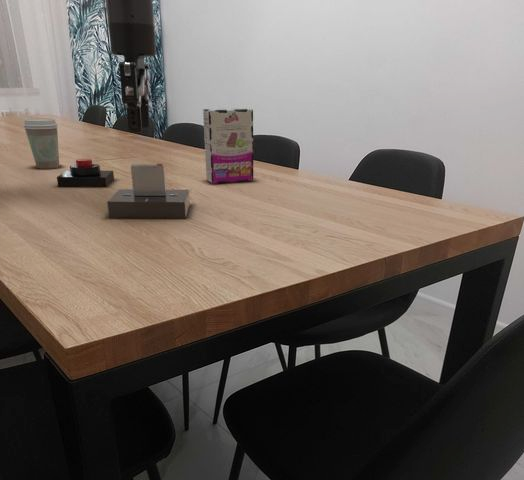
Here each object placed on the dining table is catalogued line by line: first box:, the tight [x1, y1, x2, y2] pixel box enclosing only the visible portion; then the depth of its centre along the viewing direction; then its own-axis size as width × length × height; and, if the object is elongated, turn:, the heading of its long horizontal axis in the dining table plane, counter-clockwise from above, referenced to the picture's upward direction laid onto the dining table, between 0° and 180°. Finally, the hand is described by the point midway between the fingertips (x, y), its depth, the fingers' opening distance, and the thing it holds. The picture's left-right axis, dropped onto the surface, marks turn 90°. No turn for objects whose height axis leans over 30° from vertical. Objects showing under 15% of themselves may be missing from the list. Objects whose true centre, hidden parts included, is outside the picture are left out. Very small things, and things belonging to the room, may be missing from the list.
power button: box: [75, 157, 94, 167], centre depth 118 cm, size 4×4×2 cm
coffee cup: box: [23, 117, 60, 170], centre depth 135 cm, size 8×8×12 cm
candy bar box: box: [202, 107, 254, 185], centre depth 121 cm, size 11×5×16 cm, turn 114°
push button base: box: [56, 163, 115, 188], centre depth 119 cm, size 11×9×4 cm
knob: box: [130, 162, 167, 196], centre depth 95 cm, size 6×2×6 cm, turn 93°
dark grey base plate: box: [106, 188, 191, 219], centre depth 97 cm, size 14×11×3 cm
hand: (139, 129), depth 90 cm, fingers open, 8 cm apart
